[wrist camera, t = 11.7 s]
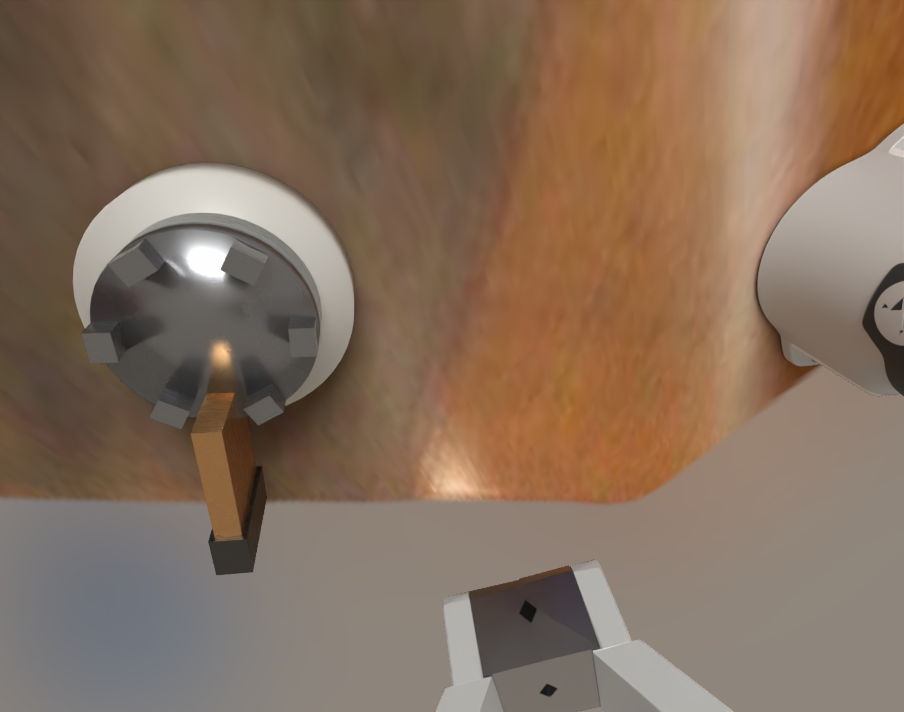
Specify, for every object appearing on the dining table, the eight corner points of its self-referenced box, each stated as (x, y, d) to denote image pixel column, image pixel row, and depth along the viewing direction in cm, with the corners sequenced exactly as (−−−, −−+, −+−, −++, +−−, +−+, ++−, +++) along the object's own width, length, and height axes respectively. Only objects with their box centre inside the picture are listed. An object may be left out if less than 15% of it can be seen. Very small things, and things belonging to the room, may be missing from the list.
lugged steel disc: (85, 211, 30) (18, 259, 24) (314, 213, 32) (304, 258, 26) (165, 499, 41) (133, 582, 35) (334, 488, 43) (331, 565, 37)
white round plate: (363, 180, 35) (363, 194, 32) (346, 395, 43) (346, 421, 40) (72, 144, 32) (46, 157, 29) (112, 385, 39) (94, 412, 37)
